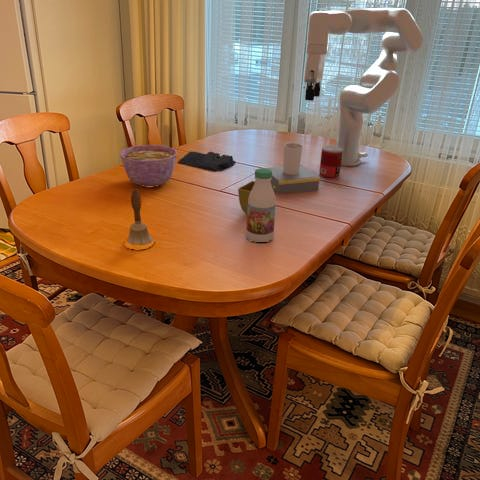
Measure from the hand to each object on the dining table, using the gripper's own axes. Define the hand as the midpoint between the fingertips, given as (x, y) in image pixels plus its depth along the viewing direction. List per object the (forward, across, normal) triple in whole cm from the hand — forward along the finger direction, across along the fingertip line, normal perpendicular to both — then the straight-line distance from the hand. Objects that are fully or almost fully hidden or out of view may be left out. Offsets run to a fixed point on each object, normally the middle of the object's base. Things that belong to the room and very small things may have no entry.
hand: (312, 98), depth 173 cm
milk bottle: (+28, +66, +3) cm, 72 cm away
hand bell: (+29, +83, -26) cm, 92 cm away
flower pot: (+29, +51, -4) cm, 58 cm away
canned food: (+28, +3, +10) cm, 30 cm away
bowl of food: (+28, +41, -48) cm, 69 cm away
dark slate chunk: (+29, +10, -39) cm, 50 cm away
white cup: (+24, +20, -1) cm, 31 cm away
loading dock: (+28, +20, -1) cm, 35 cm away
